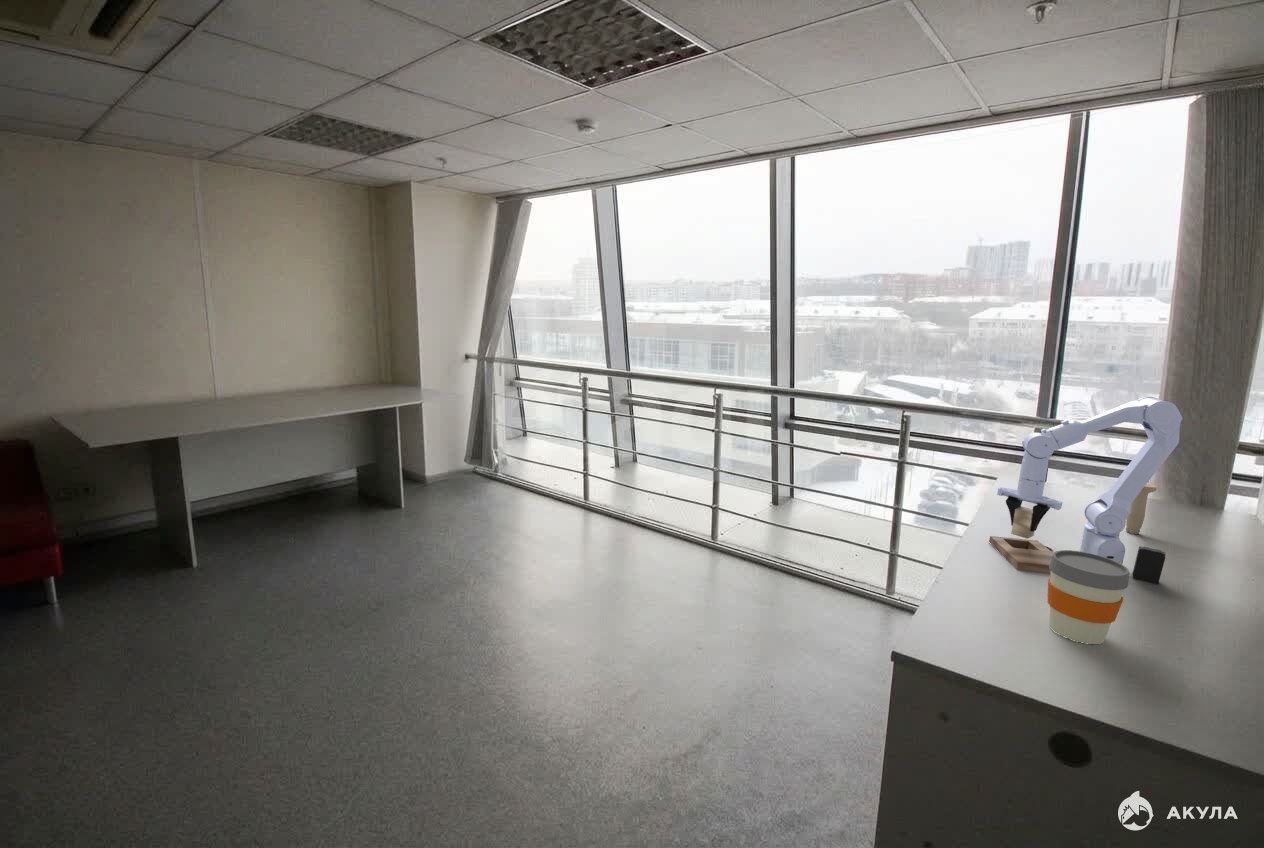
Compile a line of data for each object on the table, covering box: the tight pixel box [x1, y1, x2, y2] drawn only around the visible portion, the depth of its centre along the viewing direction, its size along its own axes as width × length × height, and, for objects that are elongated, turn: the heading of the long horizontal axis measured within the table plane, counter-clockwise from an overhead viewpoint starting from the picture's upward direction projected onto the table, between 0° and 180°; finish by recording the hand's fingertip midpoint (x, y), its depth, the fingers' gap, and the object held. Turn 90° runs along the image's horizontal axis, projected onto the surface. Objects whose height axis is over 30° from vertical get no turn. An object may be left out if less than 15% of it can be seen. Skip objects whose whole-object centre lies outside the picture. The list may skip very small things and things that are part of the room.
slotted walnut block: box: [988, 535, 1054, 574], centre depth 159 cm, size 18×12×2 cm, turn 170°
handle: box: [1125, 483, 1158, 535], centre depth 180 cm, size 5×6×15 cm
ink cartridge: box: [1131, 546, 1166, 585], centre depth 147 cm, size 5×2×8 cm, turn 52°
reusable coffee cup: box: [1047, 549, 1130, 645], centre depth 120 cm, size 13×13×15 cm
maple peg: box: [1010, 505, 1035, 540], centre depth 162 cm, size 4×4×7 cm
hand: (1023, 527), depth 162 cm, fingers closed on maple peg, 4 cm apart
